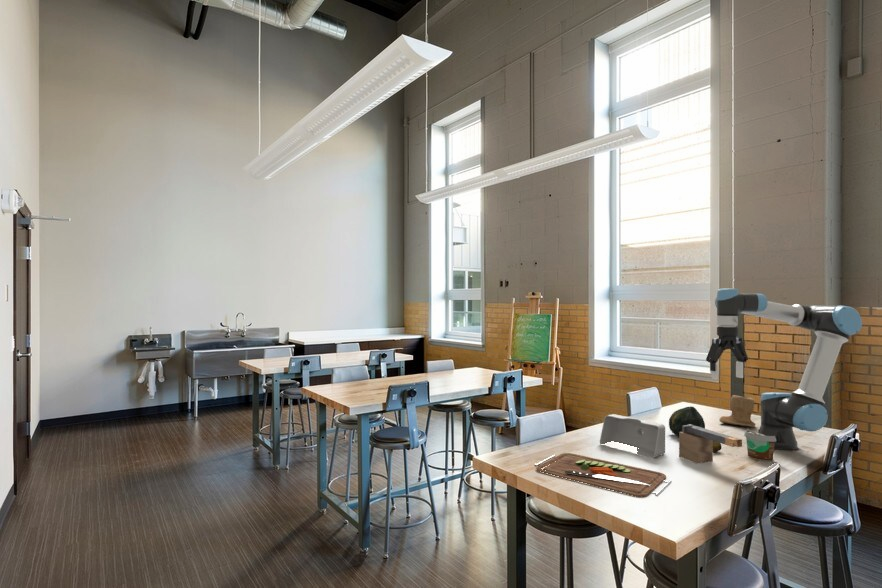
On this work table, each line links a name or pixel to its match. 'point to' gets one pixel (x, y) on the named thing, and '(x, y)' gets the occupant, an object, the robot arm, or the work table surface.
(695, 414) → the squash
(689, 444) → the tong rest
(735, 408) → the brown upright flared piece
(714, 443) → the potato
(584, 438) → the work table surface
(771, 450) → the food container
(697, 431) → the bar
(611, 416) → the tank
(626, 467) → the chopping board
